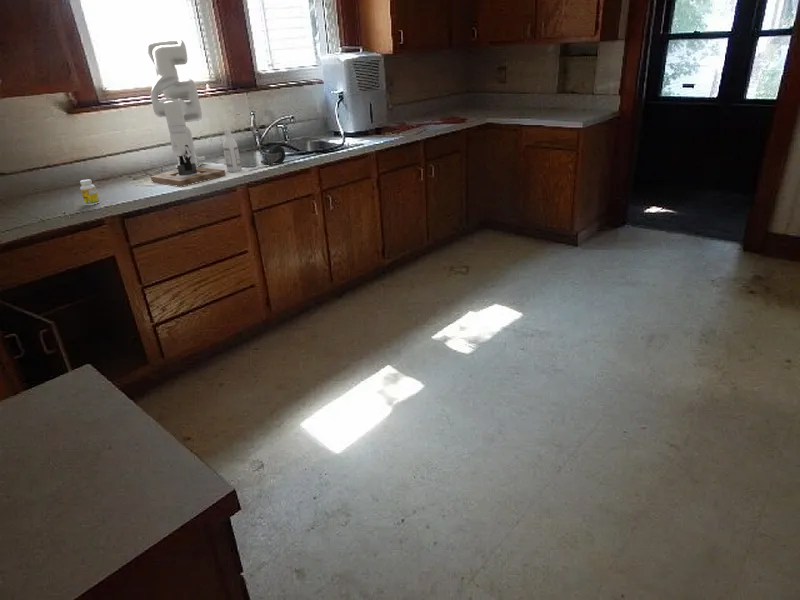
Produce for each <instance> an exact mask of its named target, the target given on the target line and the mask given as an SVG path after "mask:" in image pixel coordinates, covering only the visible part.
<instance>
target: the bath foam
mask: <svg viewBox="0 0 800 600" xmlns="http://www.w3.org/2000/svg"><path fill="white" fill-rule="evenodd" d="M223 133H224V139H223V141H222V150H223V154H224V160H225V161H224V162H225V165H226V166H225V167H226V170H227V172H228V173H237V171H238V172H241V171H242V170H243V168H242V164H241V163H242V162H241V156H240V152H239V145H238V143H237V141H236V140H235V139H234V137H233V136H232V131H231V128H224V129H223Z"/></svg>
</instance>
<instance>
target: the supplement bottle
mask: <svg viewBox="0 0 800 600" xmlns="http://www.w3.org/2000/svg"><path fill="white" fill-rule="evenodd" d="M92 181H93V180H92V179H81V180H80V181H79V183H80V185H81V186H80V187H79V188H80V192H81V196H82V199H83V202H84V204H85V206H95V205H94V204H96V205H98V204H97V203H99V204H100V203H101V202H100V201H101V200H100V198H99V194H98V192H97V188H96V186H95V184H92V183H93V182H92Z"/></svg>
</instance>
